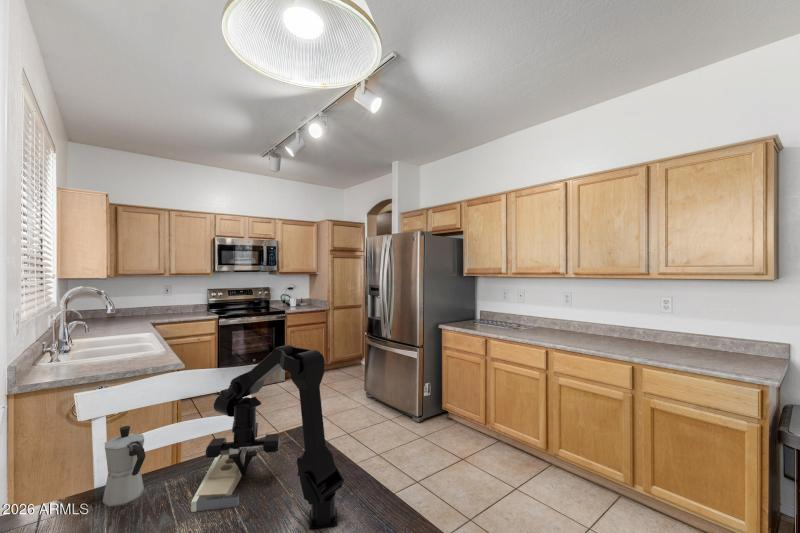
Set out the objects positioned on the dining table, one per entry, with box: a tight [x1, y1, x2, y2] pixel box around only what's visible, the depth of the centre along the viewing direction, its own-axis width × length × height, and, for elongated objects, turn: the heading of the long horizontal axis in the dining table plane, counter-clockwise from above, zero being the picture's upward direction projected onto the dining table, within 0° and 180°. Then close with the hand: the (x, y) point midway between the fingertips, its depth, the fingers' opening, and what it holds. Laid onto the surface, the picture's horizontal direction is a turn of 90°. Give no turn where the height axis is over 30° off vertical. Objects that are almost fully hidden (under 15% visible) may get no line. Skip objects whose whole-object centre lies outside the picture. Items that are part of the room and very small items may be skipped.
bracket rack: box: [190, 452, 255, 513], centre depth 102 cm, size 23×11×2 cm, turn 12°
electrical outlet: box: [197, 455, 245, 498], centre depth 102 cm, size 7×4×18 cm
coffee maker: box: [101, 425, 146, 508], centre depth 95 cm, size 15×9×18 cm, turn 62°
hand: (244, 475), depth 103 cm, fingers closed
